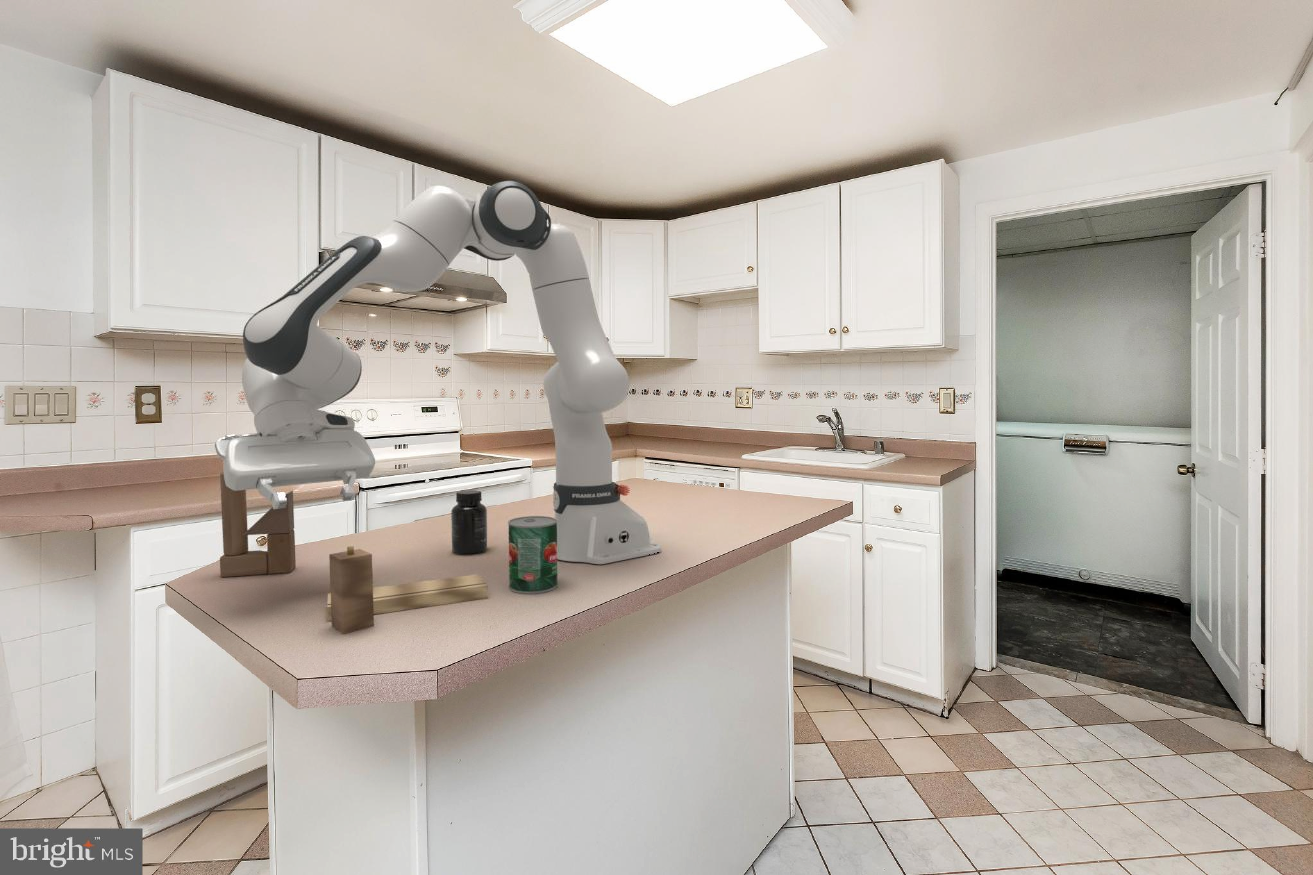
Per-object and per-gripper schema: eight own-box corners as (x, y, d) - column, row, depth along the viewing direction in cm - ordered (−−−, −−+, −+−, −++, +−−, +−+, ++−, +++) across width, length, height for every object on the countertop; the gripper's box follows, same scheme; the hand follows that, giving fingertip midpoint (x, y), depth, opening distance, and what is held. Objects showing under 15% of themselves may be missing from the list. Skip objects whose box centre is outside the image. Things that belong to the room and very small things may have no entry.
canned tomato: (564, 589, 100) (564, 522, 100) (517, 597, 96) (516, 527, 96) (548, 576, 107) (547, 514, 106) (503, 583, 103) (502, 518, 103)
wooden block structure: (290, 573, 109) (287, 471, 107) (219, 578, 105) (215, 473, 104) (296, 567, 112) (292, 469, 111) (227, 572, 109) (223, 471, 108)
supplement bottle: (485, 545, 129) (484, 488, 128) (489, 553, 123) (488, 493, 122) (450, 548, 126) (449, 490, 125) (453, 556, 120) (452, 495, 119)
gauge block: (361, 618, 87) (359, 541, 86) (374, 625, 84) (371, 546, 84) (331, 626, 84) (329, 547, 83) (343, 634, 81) (340, 552, 81)
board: (479, 586, 102) (478, 573, 102) (487, 597, 96) (487, 584, 96) (328, 606, 92) (327, 592, 91) (327, 621, 86) (327, 606, 86)
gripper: (215, 421, 88) (237, 497, 82) (362, 417, 103) (390, 481, 97) (208, 450, 91) (229, 525, 85) (352, 442, 106) (378, 506, 100)
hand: (316, 502), depth 91 cm, fingers open, 8 cm apart
